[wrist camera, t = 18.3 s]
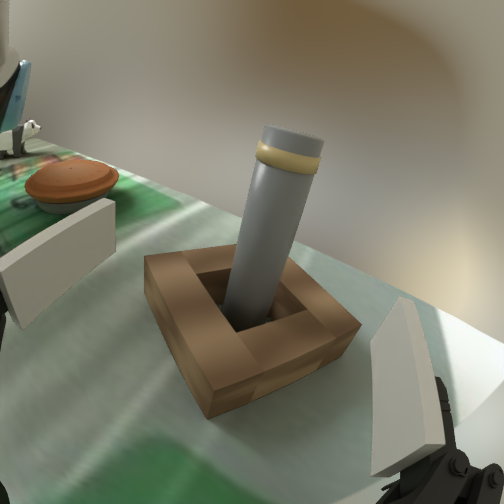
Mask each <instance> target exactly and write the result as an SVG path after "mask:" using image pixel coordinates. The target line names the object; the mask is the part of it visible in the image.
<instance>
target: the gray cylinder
mask: <svg viewBox="0 0 504 504" xmlns="http://www.w3.org/2000/svg"><path fill="white" fill-rule="evenodd" d="M323 144H324V140H322V139H320V138H318V137H315V136H313V135H310V134H307V133H304V132H300V131H297V130H293V129H289V128H285V127H280V126H276V125H269V124H265V125H264V129H263V133H262V138H261V139H260V140H259V143H258V147H257V151H256V158H257V159H256V163H255V167H254V172H253V176H252V180H251V184H250V188H249V193H248V197H247V201H246V206H245V210H244V214H243V219H242V223H241V228H240V232H239V236H238V241H237V245H236V250H235V254H234V259H233V263H232V268H231V272H230V277H229V282H228V286H227V291H226V296H225V300H224V305H223V310H222V314H223V315H224V317H225V318H226V319H227V321H228V322H229V324H230V325H231V327H232V328H233V329H234V331H235V332H236V333H237V332H241V331H244V330H247V329H250V328H253V327H257V326H260V325H263V324H265V322H266V319H267V316H268V313H269V310H270V308H271V305H272V302H273V299H274V296H275V293H276V291H277V288H278V285H279V282H280V279H281V276H282V273H283V270H284V267H285V264H286V261H287V258H288V255H289V252H290V249H291V246H292V243H293V240H294V237H295V234H296V231H297V228H298V225H299V222H300V219H301V216H302V213H303V209H304V206H305V203H306V200H307V197H308V194H309V190H310V187H311V184H312V181H313V177H314V174H316V173H317V170H318V166H319V163H320V160H321V156H320V154H321V151H322V147H323Z"/></svg>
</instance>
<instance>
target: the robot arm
mask: <svg viewBox="0 0 504 504" xmlns="http://www.w3.org/2000/svg"><path fill="white" fill-rule="evenodd" d="M9 1H10V0H0V134H1V133H2V132H5V131H9V130H13V129H15V128H16V127H17V126H18V125H19V123H20V121H21V118H22V114H23V110H24V105H25V100H26V94H27V89H28V84H29V78H30V71H31V63H30V62H29V61H25V60H22V62H19V53H18V51H17V49H16V48H15V47H14V46H12V45H9ZM114 252H116V236H115V201H112V200H109V199H106V198H102V199H100V200H98V201H96V202H94V203H92V204H91V205H89V206H87V207H85V208H83V209H81V210H79V211H77V212H75V213H73V214H72V215H70V216H68V217H66V218H64V219H63V220H61V221H59V222H57V223H55V224H54V225H52V226H50V227H49V228H47V229H45V230H43V231H42V232H40V233H38V234H37V235H35V236H33V237H30V238H29V239H27V240H25V241H24V242H22V243H21V245H20V244H19V245H18V246H16V247H15V248H14V249H11V250H10V251H8V252H7V253H5V254H4V255H3V256H1V257H0V350H1V344H2V338H3V333H4V328H5V324H6V316H5V314H4V313H6V312H7V311H9V313H10V316H11V318H12V320H13V322H14V323H15V324H16V325H18V326H19V327H20V328H21V329H22V330H24V329H25V328H26V327H27V326H28V325H29V324H30V323H31V322H32V321H33V320H34V319H36V318H37V317H38V316H39V315H40V314H41V313H42V312H43V311H44V310H45V309H47V308H48V307H49V306H50V305H51V304H52V303H53V302H54V301H56V300H57V299H58V298H59V297H60V296H61V295H63V294H64V293H65V292H66V291H67V290H68V289H70V288H71V287H72V286H73V285H74V284H76V283H77V282H78V281H79V280H80V279H82V278H83V277H84V276H85V275H87V274H88V273H89V272H90V271H91V270H93V269H94V268H95V267H96V266H98V265H99V264H100V263H102V262H103V261H104V260H105V259H107V258H108V257H109V256H111V255H112V254H113V253H114ZM370 346H371V362H372V385H373V438H372V460H371V474H370V476H371V477H391V476H393V475H395V474H397V473H399V472H400V479H399V480H397V481H395V482H393V483H391V484H389V485H386V486H385V487H383V488H382V489H381V490H382V491H384V490H386V489H388V488H389V490H388V491H387V492H386V493H385V494H384V495H383V496H382V497H381V498H380V500H379V501H378V502H377V503H376V504H500V500H501V495H502V491H503V486H504V473H503V470H502V468H501V467H500V466H499V465H498V464H495V463H493V464H490V465H489V466H487V467H485V468H484V469H482V470H481V469H478V468H476V467H473V466H470V463H469V459H468V457H467V456H466V454H465V453H464V452H462V451H461V450H459V449H457V448H456V442H455V436H454V428H453V421H452V416H451V413H450V411H451V410H450V405H449V403H448V401H449V400H448V395H447V390H446V387H445V386H444V384H443V382H442V380H441V378H440V377H435V376H434V372H433V368H432V363H431V359H430V355H429V351H428V347H427V343H426V340H425V336H424V333H423V329H422V326H421V322H420V319H419V316H418V312H417V309H416V306H415V303H414V301H412V300H409V299H406V298H404V297H401V296H399V297H398V299H397V301H396V302H395V304H394V306H393V307H392V309H391V311H390V312H389V314H388V315H387V317H386V318H385V320H384V321H383V323H382V325H381V326H380V328H379V329H378V331H377V332H376V334H375V335H374V336H373V338H372V339H371V341H370ZM0 504H10V502H9V497H8V494H7V492H6V489H5V487H4V486H3V484H2V483H1V482H0Z"/></svg>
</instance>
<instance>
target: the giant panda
mask: <svg viewBox="0 0 504 504" xmlns="http://www.w3.org/2000/svg"><path fill="white" fill-rule="evenodd" d="M40 129H41V127H40V126H38V125H36V123H35V121H33V120H30V118H29V119H27V120H26V124H19V125H18V126H17V127H16V128H15V129H13V130H9V131H5V132H2V133H1V134H0V159H3V158H5V157H4V156H7V155H8V153H7V150H9V149H13V152H14V157H21V156H22V153H26V151H25V149H24V143H25V139H26V138H28V137H31V136H33V135H34V134H36V133H37V132H39V131H40Z"/></svg>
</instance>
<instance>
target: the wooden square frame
mask: <svg viewBox="0 0 504 504" xmlns="http://www.w3.org/2000/svg"><path fill="white" fill-rule="evenodd" d="M236 245H237V244H234V245H226V246H218V247H210V248H202V249H194V250H186V251H178V252H171V253H163V254H155V255H148V256H144V293H145V295H146V298H147V300H148V303H149V305H150V307H151V310H152V312H153V314H154V317H155V319H156V321H157V324H158V326H159V328H160V330H161V332H162V335H163V337H164V339H165V341H166V343H167V345H168V347H169V350H170V352H171V354H172V356H173V358H174V360H175V362H176V364H177V366H178V368H179V370H180V372H181V374H182V376H183V377H184V379H185V381H186V383H187V385H188V387H189V389H190V391H191V392H192V394H193V396H194V398H195V400H196V401H197V403H198V405H199V407H200V408H201V410H202V412H203V414H204V415H205V417H206V419H209V418H212V417H214V416H217V415H220V414H222V413H225V412H227V411H230V410H232V409H235V408H237V407H240V406H242V405H244V404H247V403H249V402H251V401H254V400H256V399H258V398H261V397H263V396H265V395H267V394H269V393H272V392H274V391H276V390H278V389H280V388H282V387H284V386H286V385H288V384H290V383H292V382H294V381H296V380H298V379H300V378H302V377H304V376H306V375H308V374H310V373H312V372H314V371H315V370H317V369H319V368H321V367H323V366H325V365H326V364H328V363H330V362H332V361H333V360H335V359H337V358H339V357H340V356H342V354H343V353H344V351H345V350H346V348H347V347H348V345H349V344H350V342H351V341H352V339H353V338H354V336H355V335H356V333H357V332H358V330H359V328H360V327H361V325H362V324H361V323H360V322H359V321H358V320H357V319H356V318H354V317H353V316H352V315H351V314H350V313H349V312H348V311H347V310H346V309H345V308H344V307H343V306H342V305H341V304H340V303H338V302H337V301H336V300H335V299H334V298H333V297H332V296H331V295H330V294H329V293H328V292H327V291H326V290H324V289H323V288H322V287H321V286H320V285H319V284H318V283H317V282H316V281H315V280H314V279H313V278H311V277H310V276H309V275H308V274H307V273H306V272H305V271H304V270H303V269H302V268H301V267H299V266H298V265H297V264H296V263H295V262H294V261H293V260H292V259H291V258H290V257H288V258H287V261H286V264H285V267H284V270H283V273H282V276H281V279H280V282H279V285H278V288H277V291H276V293H275V296H274V299H273V302H272V305H271V308H270V310H269V313H268V316H269V317H270V318H271V319H272V320H273V321H272V322H269V323H266V324H263V325H260V326H257V327H253V328H250V329H247V330H244V331H241V332H237V333H236V332H235V331H234V329H233V328H232V327H231V325H230V324H229V322H228V321H227V319H226V318H225V317H224V315H223V314H222V312H221V311H220V309H219V308H218V306H217V305H218V304H222V303H224V300H225V296H226V291H227V286H228V282H229V277H230V272H231V268H232V263H233V259H234V254H235V250H236Z"/></svg>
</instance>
